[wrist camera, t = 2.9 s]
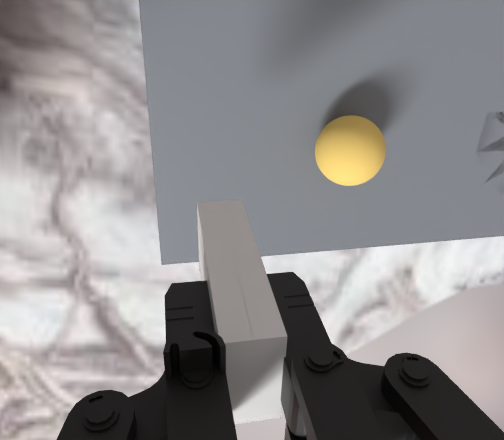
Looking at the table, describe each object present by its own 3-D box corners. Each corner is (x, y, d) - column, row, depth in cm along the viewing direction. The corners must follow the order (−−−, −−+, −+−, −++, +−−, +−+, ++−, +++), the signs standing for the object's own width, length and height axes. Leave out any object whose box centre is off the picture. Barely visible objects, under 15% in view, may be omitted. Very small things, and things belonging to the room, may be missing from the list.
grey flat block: (160, 240, 29) (161, 264, 26) (138, -19, 22) (137, -14, 19) (565, 210, 33) (593, 228, 31) (654, -11, 26) (698, -7, 24)
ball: (299, 165, 25) (318, 194, 22) (316, 101, 23) (339, 124, 20) (358, 172, 26) (384, 200, 23) (377, 111, 24) (408, 134, 21)
